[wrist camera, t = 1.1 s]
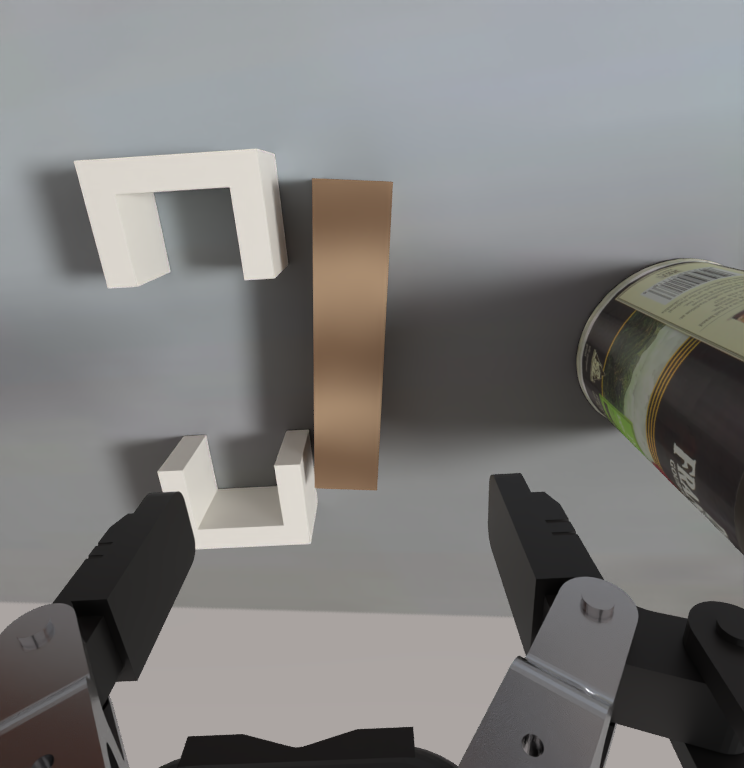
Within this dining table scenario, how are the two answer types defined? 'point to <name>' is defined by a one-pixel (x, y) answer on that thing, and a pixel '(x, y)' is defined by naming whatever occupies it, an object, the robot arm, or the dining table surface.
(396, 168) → the dining table surface
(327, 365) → the slat
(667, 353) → the coffee can
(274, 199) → the end caps
